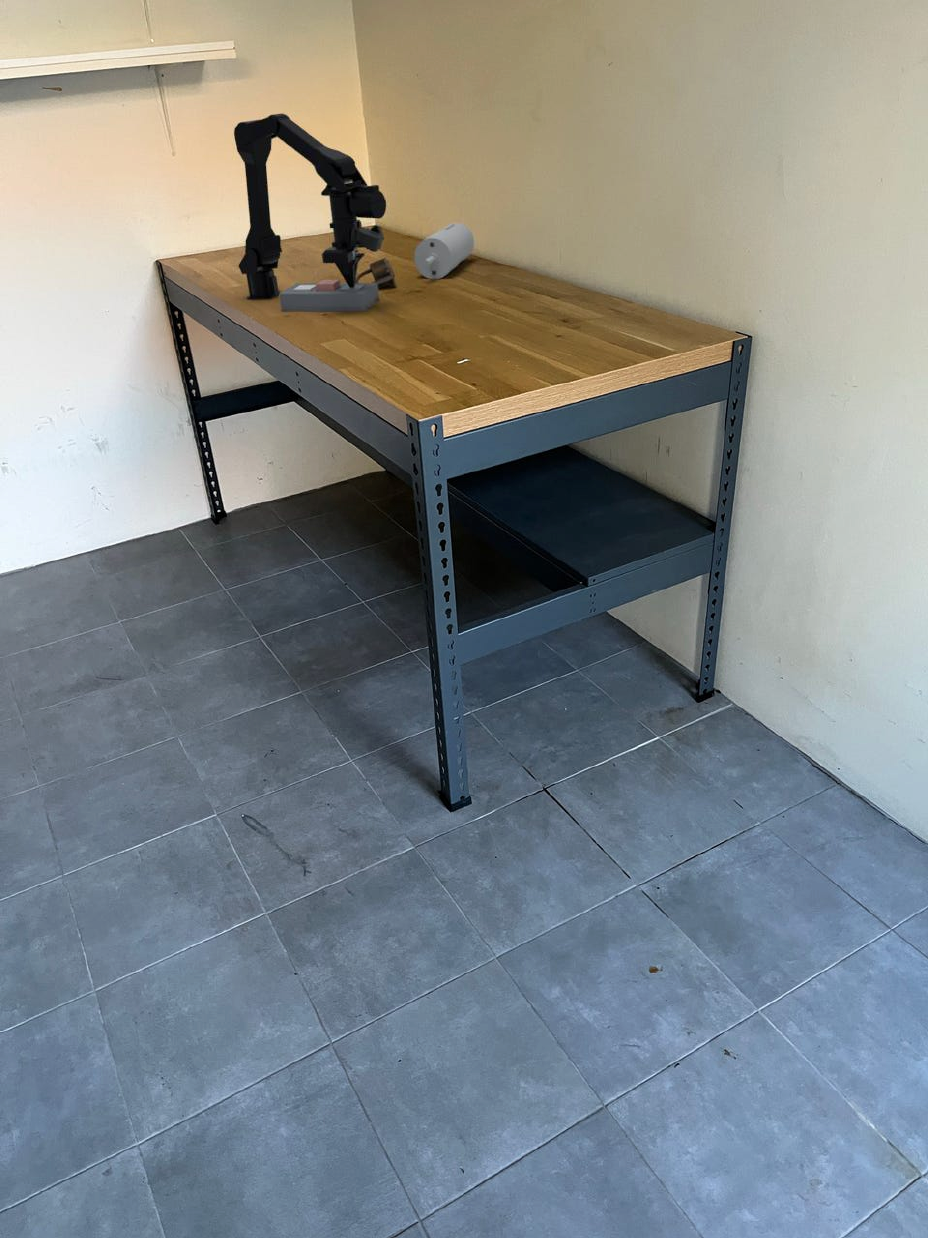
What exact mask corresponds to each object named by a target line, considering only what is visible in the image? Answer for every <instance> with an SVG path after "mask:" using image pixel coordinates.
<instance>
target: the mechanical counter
mask: <svg viewBox="0 0 928 1238" xmlns="http://www.w3.org/2000/svg"><path fill="white" fill-rule="evenodd" d="M391 265H392V264H391V263H390V261H389V259H388V258H386V257H383V258H382V259H379V260H377V261H374V262H372V263H370V264H369V267H370V268H369V269H366V270H364V271H362V272H361V273H360V274H358V275H356V280H355V283H359V280H360V279H361V278H363V277H364V276H366V275H368V274H371V273H372V277H373V279H374V281H373V282H372V283H377V285H378V289H383V288H384V287H387V286H389V285H393V287H394V288H397V287H398V285H397V282H396V278H395V274H394V270H393V268H392V266H391Z"/></svg>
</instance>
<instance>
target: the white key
mask: <svg viewBox="0 0 928 1238" xmlns="http://www.w3.org/2000/svg"><path fill="white" fill-rule="evenodd" d="M315 288H316V285H299V286H298V287H296V288H295V289H293V291H312V290H313V289H315Z"/></svg>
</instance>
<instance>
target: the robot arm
mask: <svg viewBox="0 0 928 1238" xmlns="http://www.w3.org/2000/svg"><path fill="white" fill-rule="evenodd" d="M233 136H234V137H233V138H234V142H235V146H236V151H237V153H238V155H239V156H240V158H241V160H242V161H243V163H244V169H245V170H244V171H245V181H246V193H247V194H246V195H247V206H248V214H249V231H248V232H247V236H246V238H245V243H244V246H245V249H244V250H245V251H244V252H245V254H244V255H243V257H242V259H241V260H240V262H239V264H238V268H239V270H240V273H241V274H242V275H246V281H247V288H248V293H249V294H248V295H247V297H246V299H248V300H249V299H250V300H251V299H254V300H259V299H260V300H261V299H265V300H266V299H267V300H270V299H272V298H274V297H276V296H277V295H279V294H280V293H281V292H280V290H279V285H278V278H277V276H276V275H275V272H274V271H275V269H278V268H279V267H278V266H279V260H280V258H281V253H282V252H283V249H282V246H281V245H282V244H281V239H282V238H281V235H279V234H276V233H275V231H274V230H273V228H272V225H271V224H272V223H271V213H270V212H271V211H270V209H271V208H270V200H269V199H270V198H269V197H270V196H269V185H268V174H267V173H268V172H267V161H268V159H269V157H270V154H271V151H272V140H273V139H275V138H278V139H279V140H281V141H282V142H283V143H285V144H286V145H287V146H288V147H290V148H291V149H293V150H294V151H295V152H296V153H297V154H298V155H300V156H302V158H304V159H305V160H307V161H308V162H310V163H311V165H313V167H314V170H315V172H316V174H317V175H318V176H319V177H320V178H321V180H322V181H323V182H325V184H326V185H325V188H323V189H322V191H321V192H320V195H321V196H324V197H329V207H330V213H331V214H330V215H331V222H330V223H329V229H332V233H333V240H334V241H332V242H331V246H330V247H328V248H326V249H325V250H324V251H323V252H322V253H321V259H322V260H321V261H322V263H323V264H335V266H336V268H337V269H338V270H339V272H340V274H341V276H342V277H343V280H344V281H345V283H347V284H348V286H349V287H350V288H353V287H354V286H355V280H356V278H357V271H358V267H359V266H358V265H359V262H360V261H361V260H362V258H364V256H365V254H366V253H360V251H359V250H358V248H365V249H366V250H369V251H371V252H373V253H375V252H378V251H379V250H381V247H382V243H383V241H385V237H384V235H385V234H384V233H383V230H382V226H379V225H377V224H374V225H373V226H372V227H371V228H369V227H363V226H362V221H361V219H377V220H379V219H381V218H383V217H384V215H385V214H386V209H387V199H386V197H385V195H384V194H383V193H382V191H380V185H378V184H372V185H368V183H367V182H366V180H365V179H364V177H363V176H362V174H361V172H360V171H359V169H358V168H357V165H356V162H355V160H354V159H353V157H351V156H350V155H348V154H346V153H344V152H342V151H340V150H337V149H334V148H331V147H328V146H326V145H324V144H323V143H322V142H320V141H319V140H318V139H316V138H315V137H314V136H313V135H311V133H309V132H307V131H306V130H305V129H304V128H302V127H301V126H300V125H298V124H297V123H296V122H295V121H293V120H292V119H290V117H289V115H288V114H285V113H283V112H282V113H274V114H270V115H269V116H267V117H264V118H262V119H256V120H255V119H254V120H248V121H240V122H239V123H237V124H236V126H235V127H234V130H233ZM359 218H361V219H359Z"/></svg>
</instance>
